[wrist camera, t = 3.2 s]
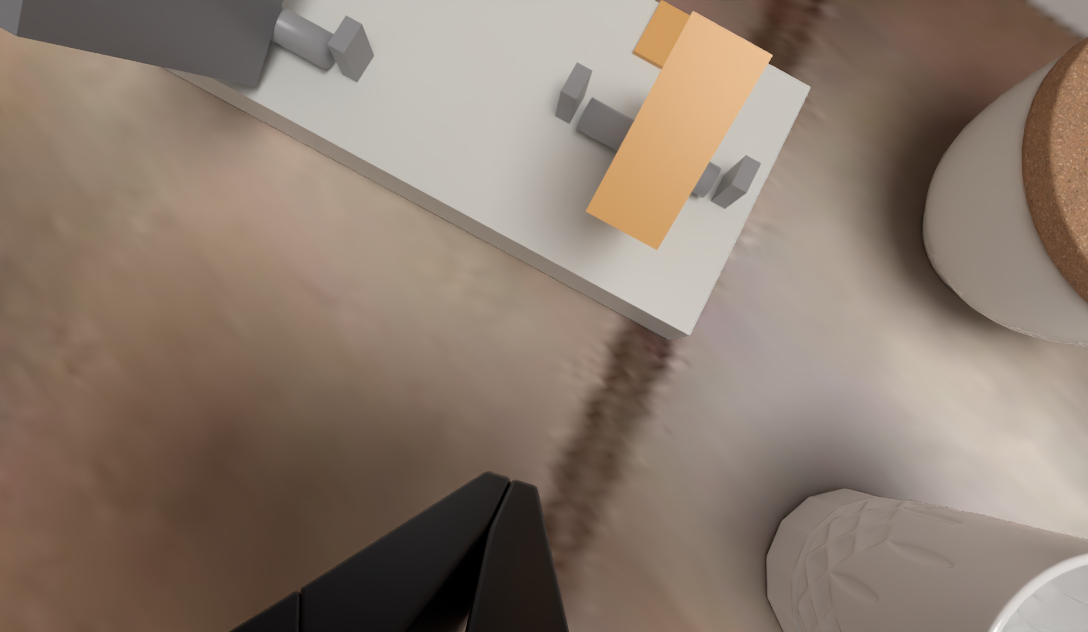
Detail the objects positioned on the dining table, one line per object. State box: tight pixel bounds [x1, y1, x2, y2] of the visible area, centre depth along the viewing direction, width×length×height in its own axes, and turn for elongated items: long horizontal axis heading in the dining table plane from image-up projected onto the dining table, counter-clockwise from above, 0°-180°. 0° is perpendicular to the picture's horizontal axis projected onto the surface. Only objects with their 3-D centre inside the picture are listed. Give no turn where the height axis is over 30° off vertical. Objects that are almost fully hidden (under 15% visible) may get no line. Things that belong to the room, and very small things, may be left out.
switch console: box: [163, 0, 811, 340], centre depth 21 cm, size 11×23×4 cm, turn 61°
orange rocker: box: [576, 11, 773, 250], centre depth 16 cm, size 4×5×9 cm
